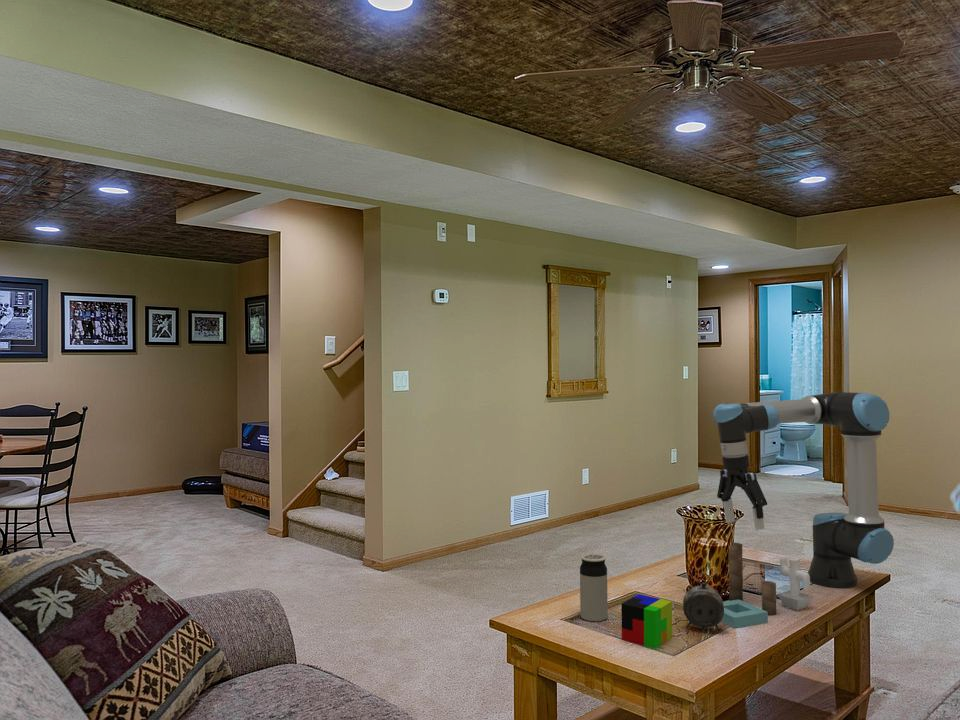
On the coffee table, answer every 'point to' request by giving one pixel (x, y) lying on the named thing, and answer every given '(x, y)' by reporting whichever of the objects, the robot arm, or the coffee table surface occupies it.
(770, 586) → the short dowel
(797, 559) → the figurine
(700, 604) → the alarm clock
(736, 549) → the long dowel
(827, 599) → the coffee table surface
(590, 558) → the travel mug
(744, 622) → the teal square frame
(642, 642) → the puzzle toy
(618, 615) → the coffee table surface
